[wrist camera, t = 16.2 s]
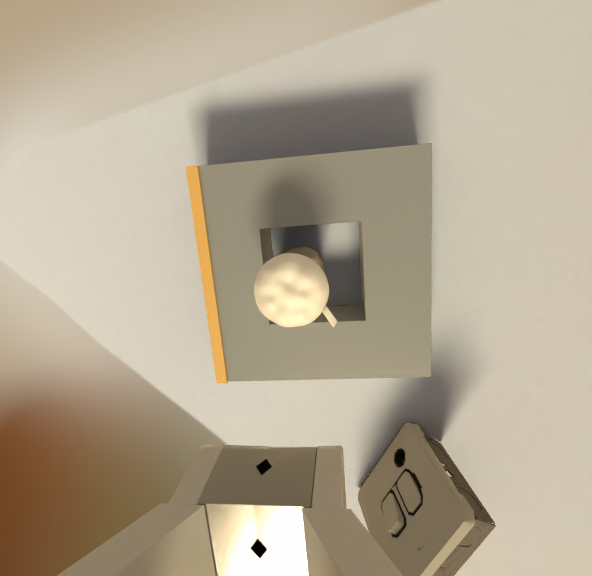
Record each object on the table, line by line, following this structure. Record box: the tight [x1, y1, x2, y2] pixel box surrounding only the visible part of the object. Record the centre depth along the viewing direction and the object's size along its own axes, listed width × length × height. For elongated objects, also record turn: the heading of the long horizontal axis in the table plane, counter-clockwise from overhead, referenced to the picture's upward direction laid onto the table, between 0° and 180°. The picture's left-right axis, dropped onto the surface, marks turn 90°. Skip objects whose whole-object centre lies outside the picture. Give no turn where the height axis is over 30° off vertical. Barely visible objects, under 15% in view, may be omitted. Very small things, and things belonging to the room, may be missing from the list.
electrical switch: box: [358, 422, 495, 576], centre depth 30 cm, size 9×5×9 cm, turn 154°
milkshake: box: [254, 246, 338, 328], centre depth 25 cm, size 5×5×10 cm
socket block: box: [186, 143, 432, 383], centre depth 28 cm, size 16×16×4 cm
